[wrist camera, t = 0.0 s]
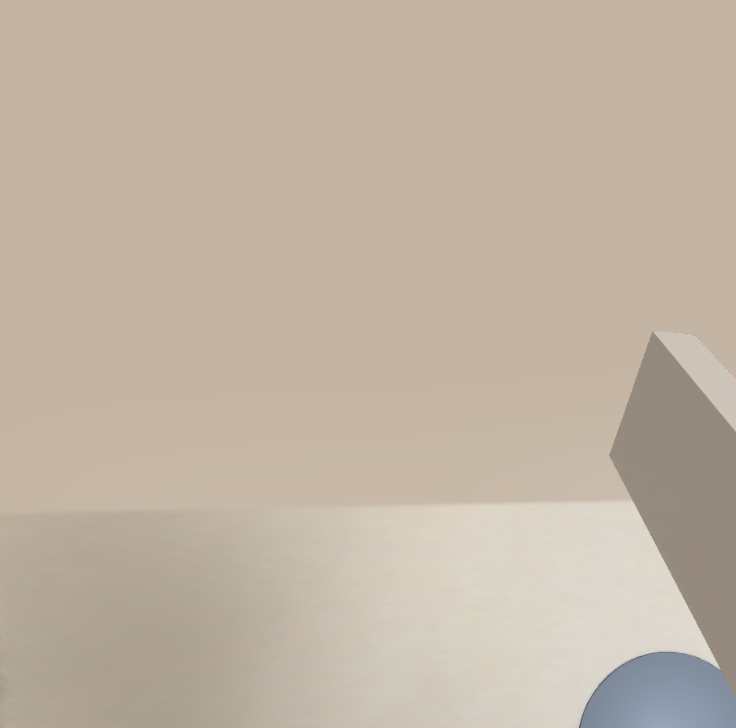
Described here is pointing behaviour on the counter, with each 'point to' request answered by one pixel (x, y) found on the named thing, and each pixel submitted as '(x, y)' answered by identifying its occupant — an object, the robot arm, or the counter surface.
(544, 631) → the counter surface
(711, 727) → the slate mark
